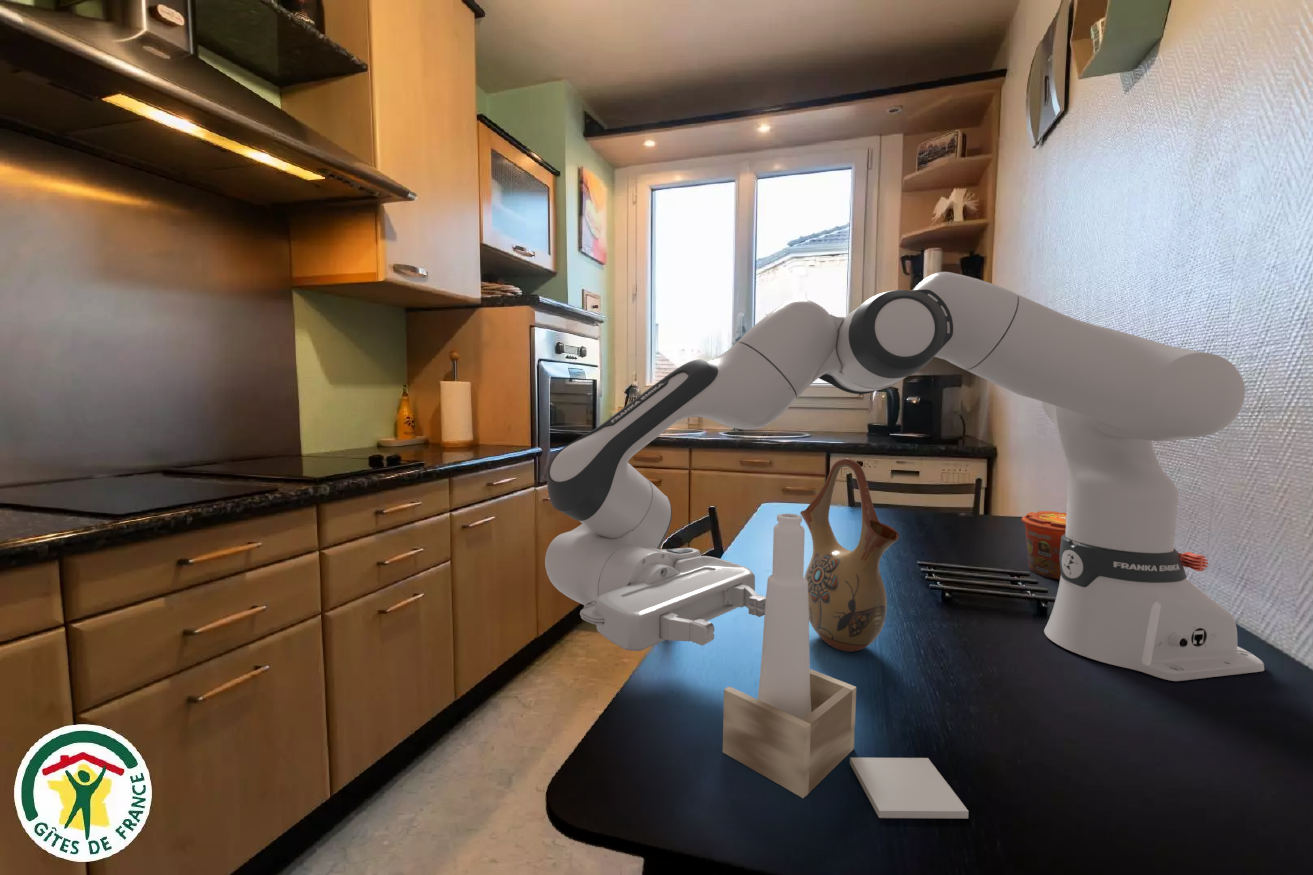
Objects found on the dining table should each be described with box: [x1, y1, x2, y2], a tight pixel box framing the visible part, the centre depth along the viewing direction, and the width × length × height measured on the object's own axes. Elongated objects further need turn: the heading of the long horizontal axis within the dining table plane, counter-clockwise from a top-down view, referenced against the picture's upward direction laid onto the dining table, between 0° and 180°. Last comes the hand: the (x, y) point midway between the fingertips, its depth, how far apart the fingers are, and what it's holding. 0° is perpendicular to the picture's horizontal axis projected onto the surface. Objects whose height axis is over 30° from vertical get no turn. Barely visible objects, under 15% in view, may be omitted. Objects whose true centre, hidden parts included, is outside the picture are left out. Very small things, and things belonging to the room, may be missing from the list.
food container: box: [1021, 510, 1067, 581], centre depth 105 cm, size 16×16×11 cm
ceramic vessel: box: [799, 457, 900, 653], centre depth 73 cm, size 16×9×25 cm, turn 24°
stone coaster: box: [849, 757, 969, 819], centre depth 46 cm, size 7×6×1 cm
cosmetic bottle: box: [757, 513, 812, 720], centre depth 51 cm, size 6×6×22 cm
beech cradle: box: [722, 668, 857, 799], centre depth 51 cm, size 8×9×6 cm
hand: (739, 620), depth 55 cm, fingers open, 8 cm apart
